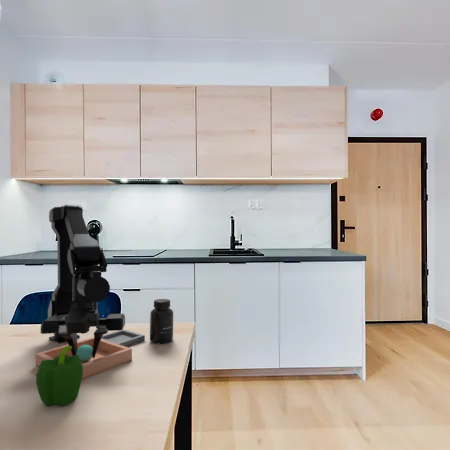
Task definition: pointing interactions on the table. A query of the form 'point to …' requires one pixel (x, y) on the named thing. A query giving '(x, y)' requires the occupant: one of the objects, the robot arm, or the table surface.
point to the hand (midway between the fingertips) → (84, 358)
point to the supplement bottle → (161, 322)
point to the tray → (124, 337)
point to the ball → (85, 353)
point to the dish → (103, 361)
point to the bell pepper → (59, 379)
